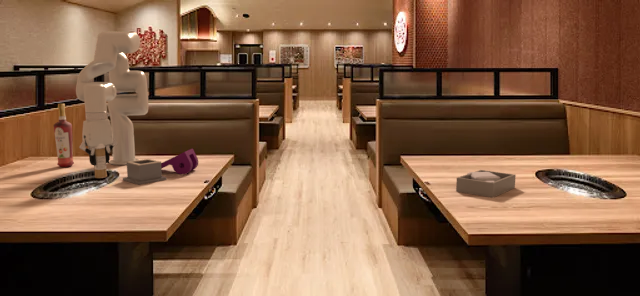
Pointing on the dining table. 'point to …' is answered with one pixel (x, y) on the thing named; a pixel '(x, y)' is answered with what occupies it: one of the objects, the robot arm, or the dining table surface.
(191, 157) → the mounting bracket
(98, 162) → the sprinkles bottle
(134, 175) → the well
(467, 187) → the stand
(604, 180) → the dining table surface
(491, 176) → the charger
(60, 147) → the liquor
